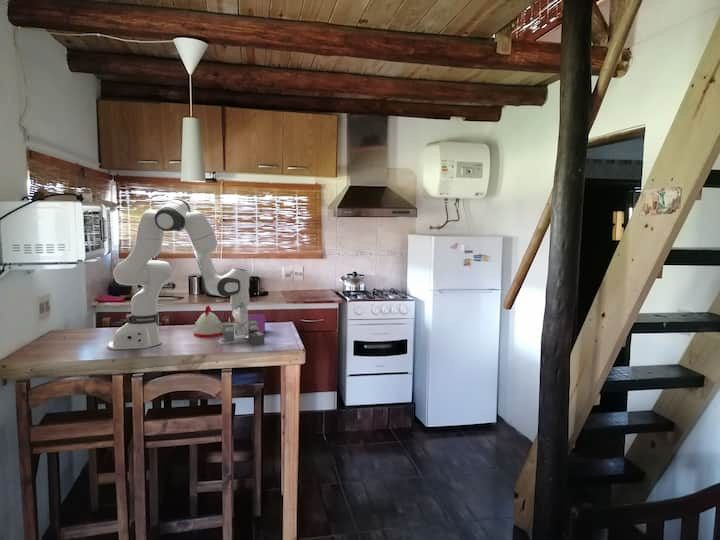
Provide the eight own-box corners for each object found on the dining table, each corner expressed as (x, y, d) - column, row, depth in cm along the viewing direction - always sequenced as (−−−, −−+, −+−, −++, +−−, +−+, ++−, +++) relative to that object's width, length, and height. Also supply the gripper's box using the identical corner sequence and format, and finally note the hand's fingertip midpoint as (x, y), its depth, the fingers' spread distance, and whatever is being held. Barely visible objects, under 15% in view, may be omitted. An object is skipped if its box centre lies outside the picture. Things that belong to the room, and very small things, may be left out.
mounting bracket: (263, 347, 246) (265, 326, 261) (263, 334, 242) (264, 313, 257) (245, 348, 244) (247, 326, 259) (244, 335, 240) (246, 313, 255)
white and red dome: (190, 337, 240) (190, 307, 238) (198, 331, 253) (198, 303, 252) (218, 337, 240) (218, 308, 239) (225, 331, 254) (225, 303, 253)
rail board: (220, 344, 227) (220, 325, 226) (217, 341, 233) (217, 323, 232) (262, 341, 235) (262, 322, 235) (258, 337, 242) (258, 320, 241)
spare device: (252, 346, 225) (252, 335, 225) (248, 343, 230) (248, 332, 229) (264, 344, 229) (264, 333, 228) (260, 342, 233) (260, 331, 233)
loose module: (245, 335, 232) (245, 320, 231) (236, 335, 230) (236, 321, 230) (243, 333, 237) (243, 318, 236) (234, 333, 235) (234, 319, 234)
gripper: (251, 304, 224) (251, 333, 225) (242, 298, 243) (242, 325, 244) (237, 305, 221) (237, 334, 223) (229, 298, 240) (229, 326, 241)
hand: (239, 329), depth 233 cm, fingers closed on loose module, 5 cm apart
